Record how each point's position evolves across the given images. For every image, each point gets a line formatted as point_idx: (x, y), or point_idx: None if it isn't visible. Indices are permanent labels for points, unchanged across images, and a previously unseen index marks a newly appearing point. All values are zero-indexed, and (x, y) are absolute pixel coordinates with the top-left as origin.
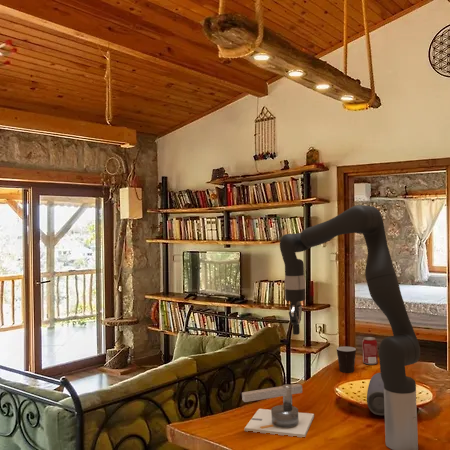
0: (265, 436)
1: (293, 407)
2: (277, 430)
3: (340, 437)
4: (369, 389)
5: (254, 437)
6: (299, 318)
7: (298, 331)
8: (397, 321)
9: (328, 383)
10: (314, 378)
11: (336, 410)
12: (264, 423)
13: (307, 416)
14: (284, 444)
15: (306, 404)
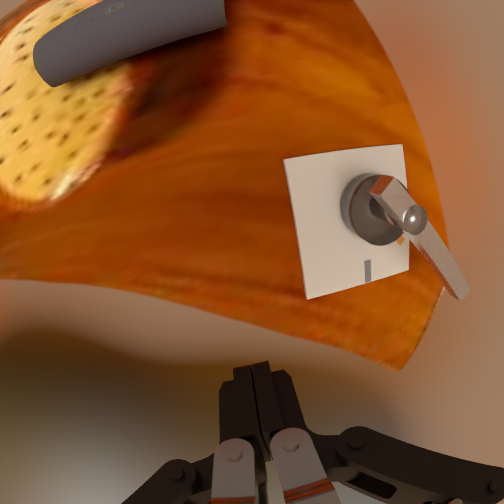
0: None
1: (364, 195)
2: None
3: (366, 74)
4: (171, 20)
5: None
6: (241, 490)
7: (273, 378)
8: None
9: (38, 230)
10: (32, 276)
11: (209, 120)
12: (381, 246)
13: (309, 169)
14: (431, 174)
15: (204, 213)
